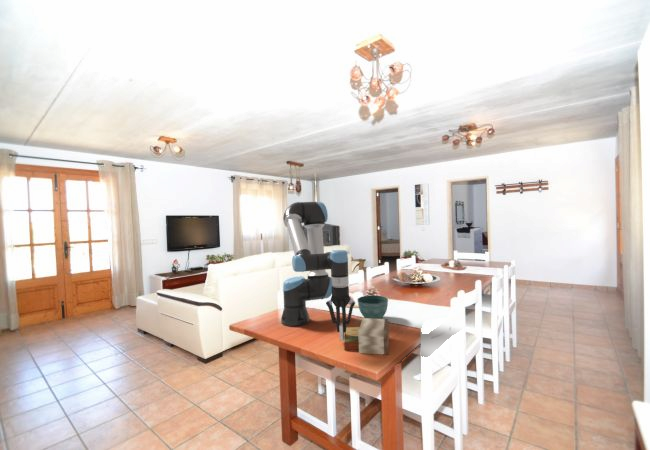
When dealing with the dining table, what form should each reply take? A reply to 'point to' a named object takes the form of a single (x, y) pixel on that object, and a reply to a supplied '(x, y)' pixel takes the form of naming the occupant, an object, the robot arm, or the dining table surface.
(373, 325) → the marbled stone block
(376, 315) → the teal bowl
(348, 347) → the carton
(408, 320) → the dining table surface
